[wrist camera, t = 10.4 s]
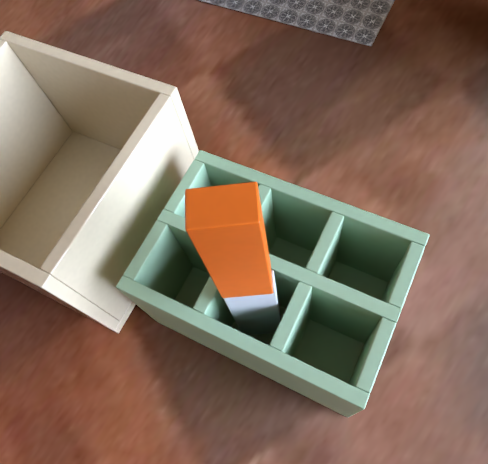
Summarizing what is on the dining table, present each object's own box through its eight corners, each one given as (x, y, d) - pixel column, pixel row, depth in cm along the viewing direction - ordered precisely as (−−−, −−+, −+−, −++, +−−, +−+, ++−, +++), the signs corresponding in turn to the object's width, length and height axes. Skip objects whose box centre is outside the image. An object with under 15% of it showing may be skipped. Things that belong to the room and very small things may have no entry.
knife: (282, 337, 28) (264, 222, 13) (243, 341, 28) (181, 230, 13) (280, 314, 28) (260, 179, 14) (241, 318, 28) (180, 188, 14)
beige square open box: (118, 334, 30) (41, 287, 21) (-23, 260, 33) (-141, 193, 24) (209, 180, 34) (177, 86, 25) (75, 128, 37) (5, 29, 28)
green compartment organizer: (347, 417, 26) (364, 409, 19) (156, 321, 30) (115, 287, 23) (400, 281, 29) (430, 234, 22) (220, 208, 33) (199, 149, 26)
